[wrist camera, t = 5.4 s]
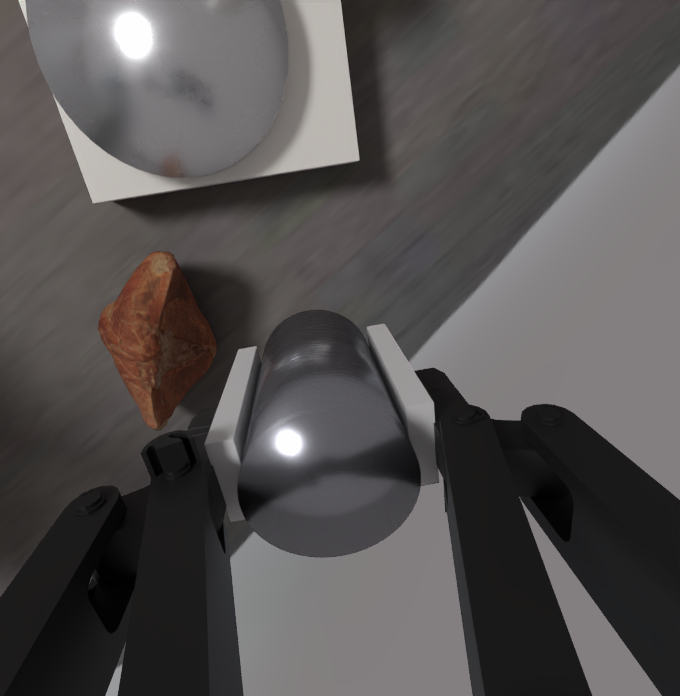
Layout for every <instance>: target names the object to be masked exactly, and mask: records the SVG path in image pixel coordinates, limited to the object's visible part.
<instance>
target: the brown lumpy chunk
mask: <svg viewBox="0 0 680 696" xmlns="http://www.w3.org/2000/svg"><path fill="white" fill-rule="evenodd" d="M98 330H99V333H100V336H101V339H102V341H103V343H104V344H105V346H106V347H107V349H108V350H109V351H110V353H111V355H112V357H113V359H114V363H115V365H116V367H117V369H118V371H119V374H120V376H121V377H122V379H123V381H124V383H125V385H126V387H127V389H128V391H129V392H130V394H131V396H132V397H133V399H134V400H135V402H136V403H137V405H138V407H139V409H140V412H141V414H142V417H143V419H144V421H145V422H146V424H147V425H148V426H149V427H151V428H153V429H155V430H161V429H163V428H164V427H165V426H166V425H167V422H168V419H169V418H170V417H171V416H172V414H173V412H174V410H175V407H176V406H177V405H178V404H179V403H180V402H181V400H182V399H183V398H184V396H185V395H186V393H187V392H188V391H189V389H190V388H191V387H192V386H193V385H194V384H195V383H196V382H197V381H198V380H199V379H200V378H201V377H202V376H203V374H204V373H205V372H206V371H207V370H208V369H209V368H210V366H211V364H212V361H213V359H214V357H215V355H216V352H217V347H216V341H215V338H214V335H213V333H212V330H211V328H210V326H209V323H208V321H207V320H206V319H205V317H204V316H203V314H202V313H201V312H200V310H199V308H198V306H197V304H196V301H195V298H194V296H193V294H192V292H191V289H190V288H189V286H188V284H187V281H186V279H185V277H184V275H183V273H182V271H181V270H180V267H179V265H178V263H177V261H176V260H175V258H174V255H173V254H171V253H170V252H160V251H157V252H153V253H151V254H150V255H149V256H148V257H146V258H145V259H144V261H143V262H142V263H141V264H140V265H139V267H138V268H137V269H136V270H135V271H134V273H133V274H132V276H131V277H130V279H129V280H128V282H127V283H126V285H125V286H124V288H123V290H122V292H121V293H120V295H119V297H118V298H117V300H116V301H114V302H113V303H111V304H109V305H107V306H106V308H105V309H104V310H103V312H102V314H101V316H100V320H99V324H98Z"/></svg>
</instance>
